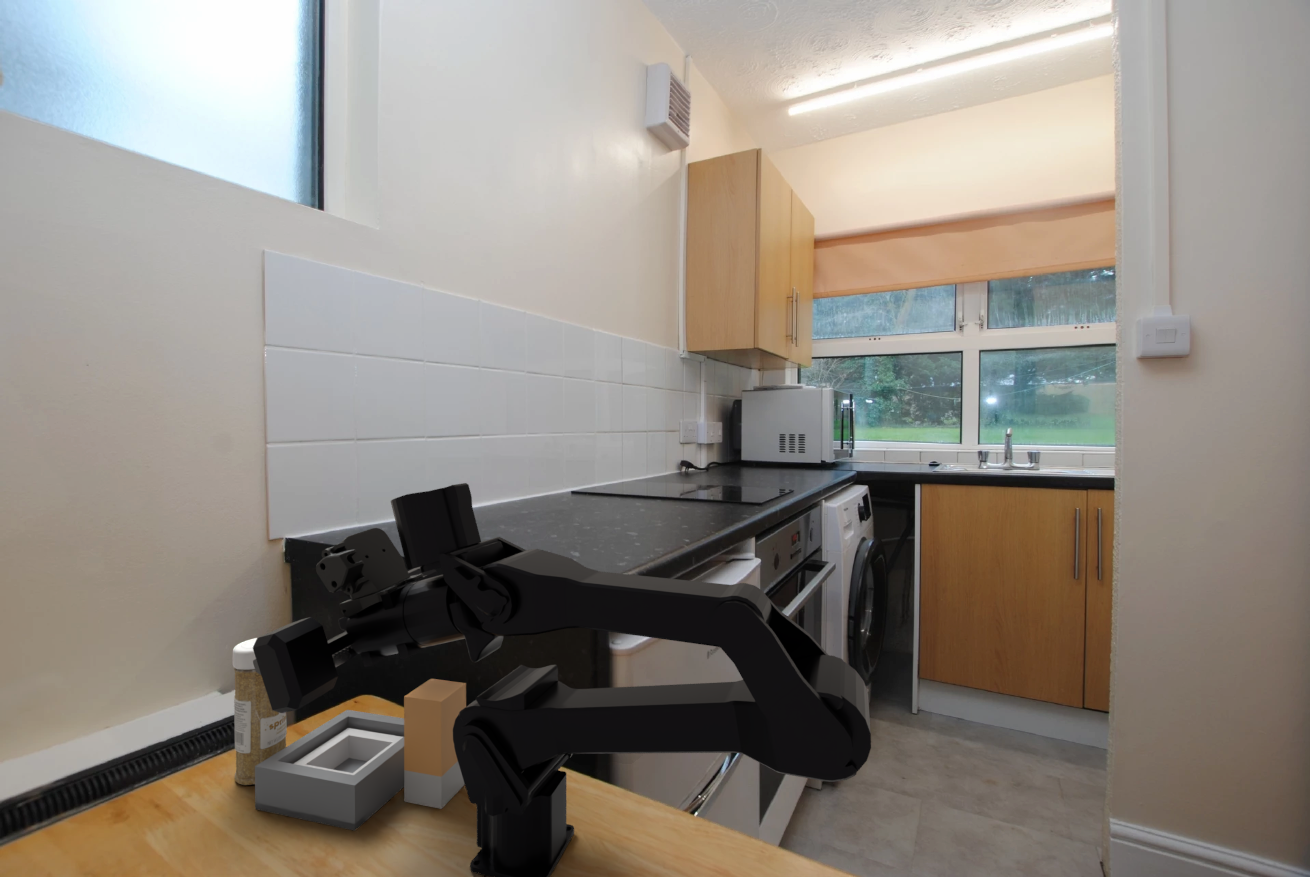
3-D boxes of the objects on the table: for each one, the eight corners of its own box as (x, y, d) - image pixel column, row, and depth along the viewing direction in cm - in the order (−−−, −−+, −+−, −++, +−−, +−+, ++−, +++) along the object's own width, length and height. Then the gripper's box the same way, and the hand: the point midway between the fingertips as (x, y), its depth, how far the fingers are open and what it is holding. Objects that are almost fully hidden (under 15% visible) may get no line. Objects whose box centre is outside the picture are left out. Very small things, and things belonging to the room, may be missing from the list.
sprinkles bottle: (288, 777, 58) (287, 644, 57) (231, 793, 55) (230, 654, 55) (287, 755, 61) (286, 631, 61) (234, 769, 59) (233, 639, 59)
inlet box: (433, 760, 61) (433, 723, 61) (354, 830, 50) (354, 785, 50) (347, 745, 63) (347, 709, 63) (255, 809, 53) (255, 766, 53)
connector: (466, 783, 57) (465, 683, 57) (441, 809, 53) (441, 701, 53) (431, 776, 58) (430, 678, 58) (404, 801, 54) (404, 696, 54)
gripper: (465, 503, 59) (353, 538, 64) (307, 555, 42) (170, 598, 46) (497, 606, 59) (383, 633, 64) (353, 701, 42) (211, 729, 46)
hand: (301, 643), depth 55 cm, fingers open, 9 cm apart
